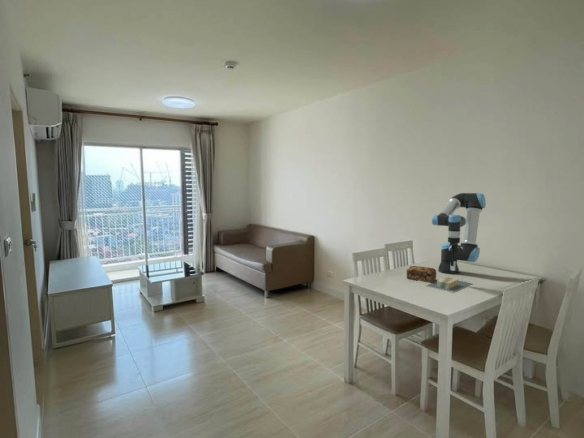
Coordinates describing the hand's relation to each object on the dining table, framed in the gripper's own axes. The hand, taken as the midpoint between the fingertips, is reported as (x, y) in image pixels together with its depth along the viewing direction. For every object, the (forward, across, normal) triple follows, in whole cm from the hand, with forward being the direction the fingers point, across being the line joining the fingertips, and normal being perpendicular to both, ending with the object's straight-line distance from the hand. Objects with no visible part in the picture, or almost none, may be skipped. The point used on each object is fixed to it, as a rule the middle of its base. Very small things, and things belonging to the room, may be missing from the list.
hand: (452, 270), depth 237 cm
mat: (+10, -3, 0) cm, 11 cm away
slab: (+8, 0, 0) cm, 8 cm away
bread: (+11, -5, +21) cm, 24 cm away
